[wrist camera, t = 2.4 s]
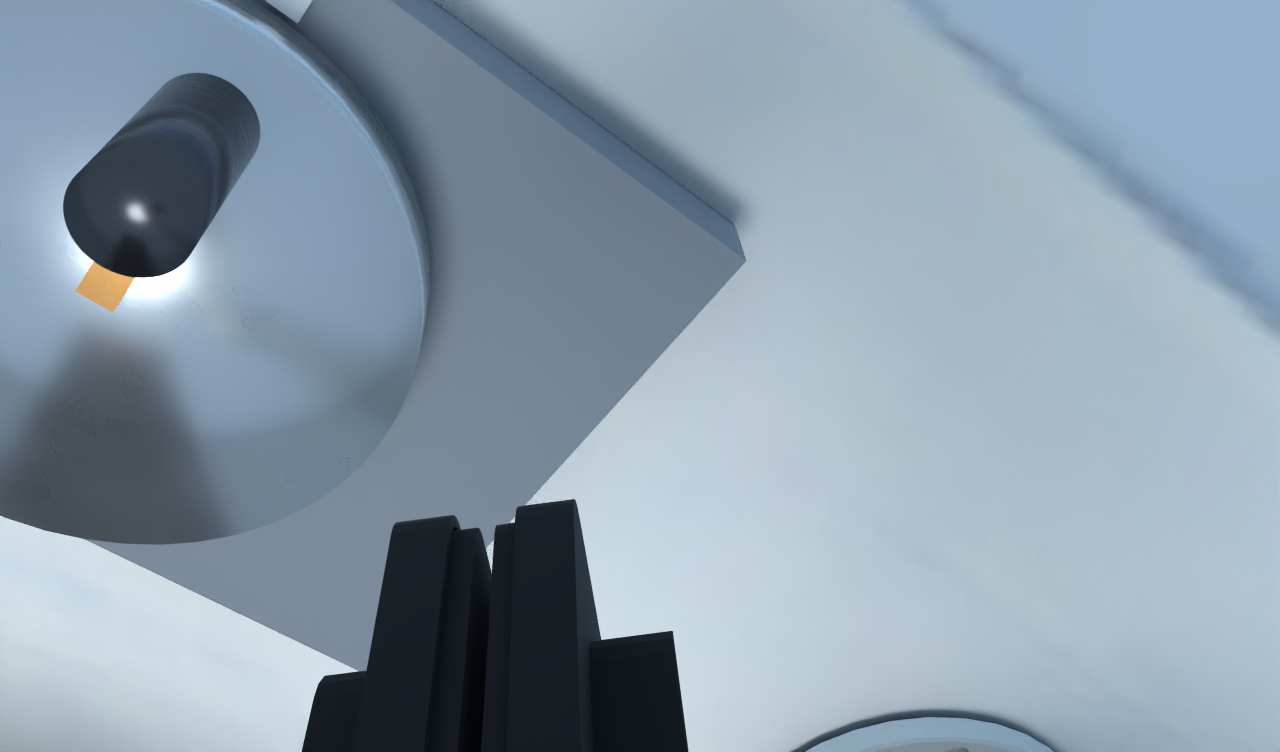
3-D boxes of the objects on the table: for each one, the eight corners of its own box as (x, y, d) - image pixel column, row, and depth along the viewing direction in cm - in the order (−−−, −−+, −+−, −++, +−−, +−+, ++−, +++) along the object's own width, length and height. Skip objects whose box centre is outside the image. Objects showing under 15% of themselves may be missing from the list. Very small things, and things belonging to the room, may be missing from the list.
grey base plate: (734, 225, 28) (748, 266, 26) (379, 626, 34) (368, 684, 32) (-216, -481, 20) (-300, -499, 18) (-464, 204, 26) (-548, 247, 24)
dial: (249, 578, 30) (180, 775, 24) (-292, 311, 25) (-524, 483, 20) (547, 203, 25) (544, 347, 20) (-52, -216, 20) (-274, -177, 15)
